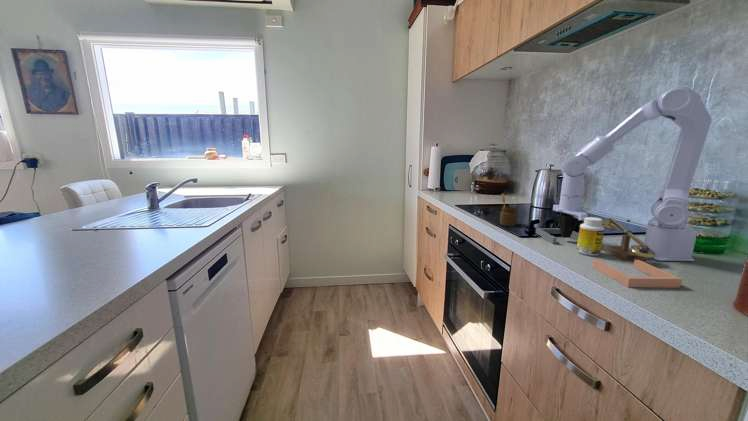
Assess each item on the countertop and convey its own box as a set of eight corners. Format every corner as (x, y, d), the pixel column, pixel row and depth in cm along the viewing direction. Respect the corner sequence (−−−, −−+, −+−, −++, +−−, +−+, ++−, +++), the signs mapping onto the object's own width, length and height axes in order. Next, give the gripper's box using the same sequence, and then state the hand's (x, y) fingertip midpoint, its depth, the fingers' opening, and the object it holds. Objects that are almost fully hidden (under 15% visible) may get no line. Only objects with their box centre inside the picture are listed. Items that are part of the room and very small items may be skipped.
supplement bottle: (595, 258, 80) (601, 222, 77) (572, 252, 84) (577, 218, 82) (603, 254, 83) (609, 219, 80) (581, 248, 87) (586, 215, 85)
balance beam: (612, 220, 89) (615, 214, 88) (659, 258, 74) (664, 251, 73) (595, 220, 89) (598, 214, 88) (639, 258, 74) (643, 251, 73)
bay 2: (637, 267, 73) (638, 259, 73) (680, 287, 63) (682, 279, 62) (592, 266, 74) (593, 259, 73) (627, 287, 63) (629, 278, 63)
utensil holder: (510, 227, 111) (513, 196, 108) (495, 223, 116) (498, 194, 114) (519, 224, 114) (522, 194, 112) (504, 221, 119) (506, 192, 117)
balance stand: (622, 249, 86) (626, 231, 85) (646, 259, 78) (650, 240, 77) (601, 249, 86) (604, 231, 85) (623, 259, 78) (627, 239, 77)
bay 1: (552, 243, 91) (553, 237, 91) (535, 233, 102) (535, 228, 102) (588, 244, 91) (589, 238, 91) (567, 233, 102) (568, 228, 101)
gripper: (545, 191, 98) (541, 230, 101) (572, 199, 84) (566, 244, 87) (567, 191, 98) (562, 230, 101) (597, 199, 84) (590, 244, 87)
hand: (565, 236), depth 94 cm, fingers closed
